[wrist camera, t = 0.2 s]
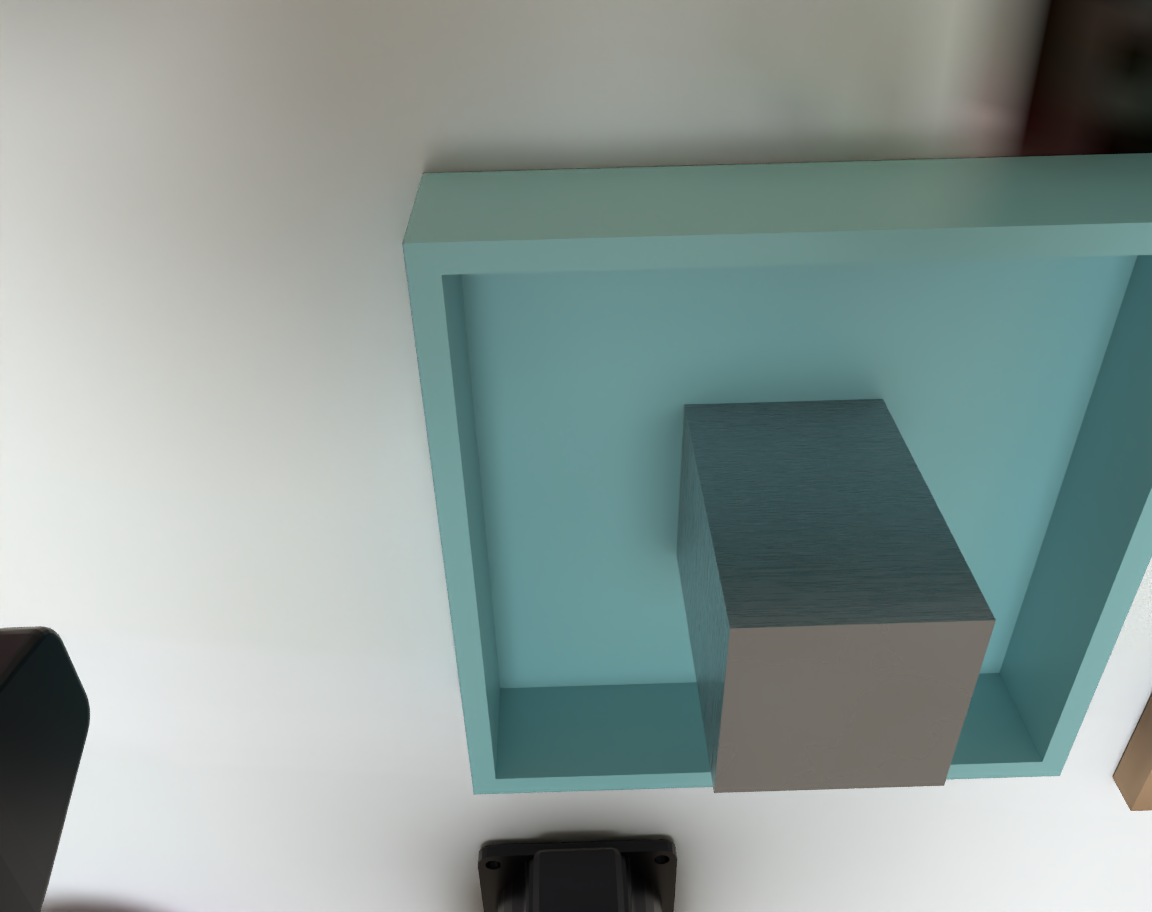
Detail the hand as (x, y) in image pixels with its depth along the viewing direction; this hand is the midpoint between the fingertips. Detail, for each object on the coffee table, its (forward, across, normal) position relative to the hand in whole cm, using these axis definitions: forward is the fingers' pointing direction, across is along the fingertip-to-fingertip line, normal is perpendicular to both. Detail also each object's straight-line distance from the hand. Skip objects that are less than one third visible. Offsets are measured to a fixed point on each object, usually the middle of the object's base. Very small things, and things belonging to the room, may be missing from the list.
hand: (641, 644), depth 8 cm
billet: (+14, -4, +9) cm, 17 cm away
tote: (+14, -4, +9) cm, 17 cm away
